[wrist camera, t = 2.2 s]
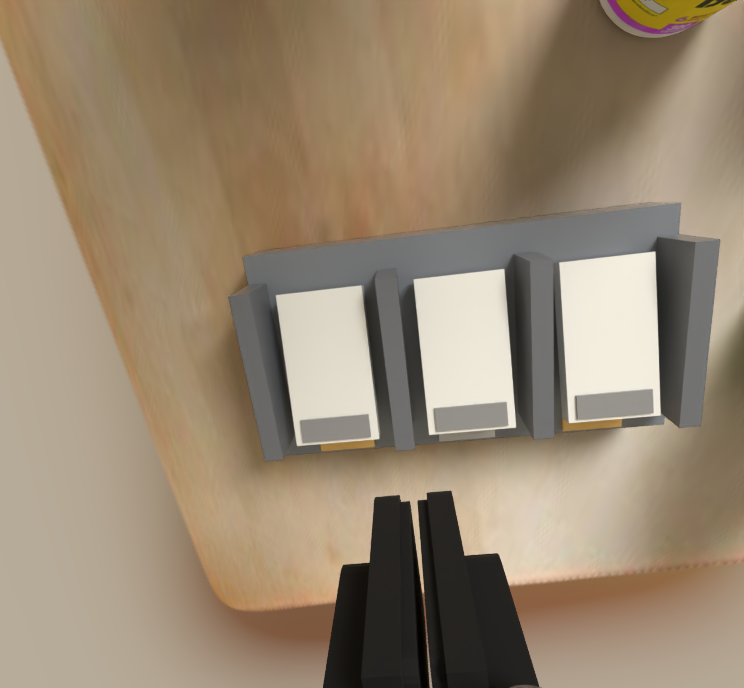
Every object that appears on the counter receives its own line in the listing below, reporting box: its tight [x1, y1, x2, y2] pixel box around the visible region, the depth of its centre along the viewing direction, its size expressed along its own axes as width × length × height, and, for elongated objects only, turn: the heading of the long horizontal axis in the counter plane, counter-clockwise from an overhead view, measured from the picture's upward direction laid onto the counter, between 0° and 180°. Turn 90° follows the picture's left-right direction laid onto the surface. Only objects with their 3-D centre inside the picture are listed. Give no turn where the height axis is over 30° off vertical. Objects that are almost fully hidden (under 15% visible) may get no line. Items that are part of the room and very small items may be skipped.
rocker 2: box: [413, 269, 516, 435], centre depth 23 cm, size 8×4×1 cm, turn 7°
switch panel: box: [228, 202, 720, 462], centre depth 24 cm, size 12×22×6 cm, turn 97°
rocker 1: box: [276, 285, 380, 446], centre depth 23 cm, size 8×4×1 cm, turn 7°
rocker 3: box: [553, 252, 661, 423], centre depth 22 cm, size 8×4×1 cm, turn 7°
